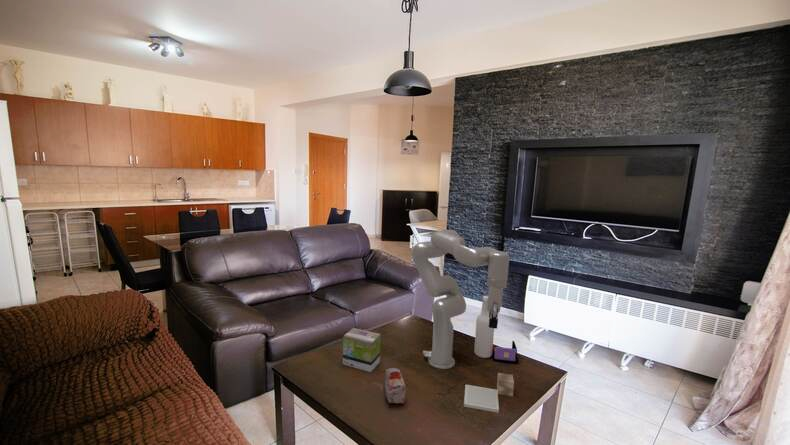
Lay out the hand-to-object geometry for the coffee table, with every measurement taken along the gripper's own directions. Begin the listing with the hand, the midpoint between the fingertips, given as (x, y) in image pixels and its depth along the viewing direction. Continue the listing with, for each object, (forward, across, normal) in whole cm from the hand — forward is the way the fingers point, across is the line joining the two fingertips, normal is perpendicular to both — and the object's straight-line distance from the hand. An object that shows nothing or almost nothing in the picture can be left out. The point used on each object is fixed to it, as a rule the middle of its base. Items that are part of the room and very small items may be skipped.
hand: (492, 322), depth 141 cm
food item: (+31, +16, -36) cm, 50 cm away
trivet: (+30, +7, -2) cm, 31 cm away
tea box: (+32, -2, -57) cm, 65 cm away
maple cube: (+24, -2, +7) cm, 25 cm away
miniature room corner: (+31, -32, +8) cm, 45 cm away
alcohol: (+31, -31, -2) cm, 44 cm away
